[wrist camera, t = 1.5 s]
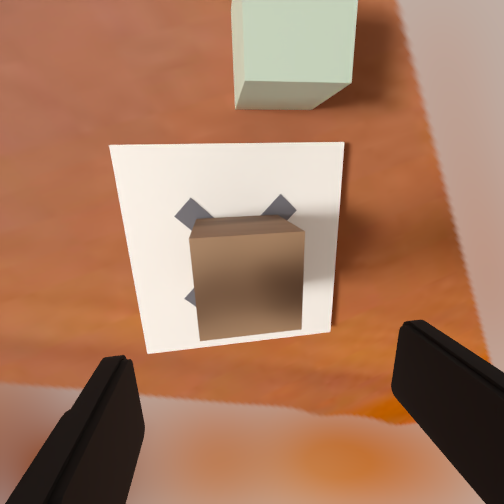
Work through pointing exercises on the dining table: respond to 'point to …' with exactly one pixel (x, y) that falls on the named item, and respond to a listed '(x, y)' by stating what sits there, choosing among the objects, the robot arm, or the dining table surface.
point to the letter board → (217, 206)
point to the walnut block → (247, 275)
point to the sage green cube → (291, 52)
